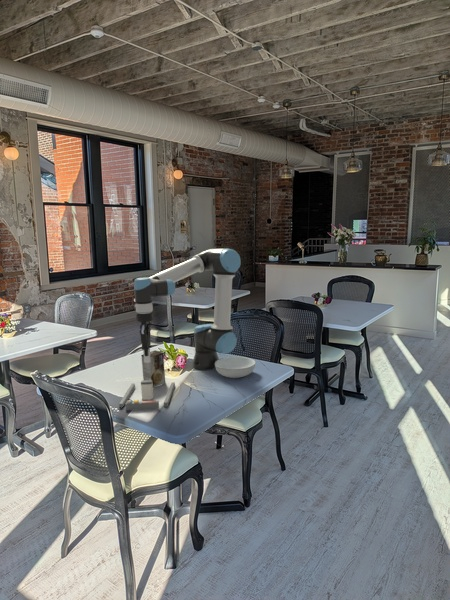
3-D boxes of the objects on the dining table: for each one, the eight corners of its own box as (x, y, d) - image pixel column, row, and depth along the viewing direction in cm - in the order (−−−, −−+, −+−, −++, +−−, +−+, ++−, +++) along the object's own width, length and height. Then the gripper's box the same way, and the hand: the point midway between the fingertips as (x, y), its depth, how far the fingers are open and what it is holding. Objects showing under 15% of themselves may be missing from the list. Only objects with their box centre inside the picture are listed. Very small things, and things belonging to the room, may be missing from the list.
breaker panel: (174, 386, 214) (174, 378, 213) (166, 409, 188) (165, 400, 187) (132, 387, 214) (131, 380, 214) (117, 410, 188) (117, 402, 188)
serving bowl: (262, 378, 221) (262, 364, 220) (223, 385, 213) (223, 371, 212) (245, 366, 240) (245, 354, 239) (209, 372, 232) (209, 359, 231)
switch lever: (153, 396, 202) (152, 379, 201) (152, 399, 198) (151, 382, 197) (143, 396, 202) (142, 379, 201) (141, 399, 198) (140, 382, 197)
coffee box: (157, 380, 222) (155, 350, 220) (165, 383, 218) (163, 352, 216) (143, 386, 216) (140, 354, 213) (151, 388, 211) (149, 356, 209)
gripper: (139, 309, 205) (142, 358, 209) (132, 315, 192) (136, 366, 196) (155, 309, 205) (157, 357, 209) (149, 314, 192) (152, 366, 196)
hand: (147, 362), depth 203 cm, fingers closed
